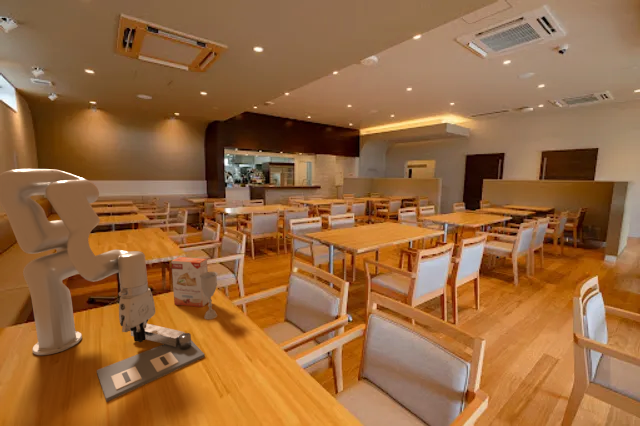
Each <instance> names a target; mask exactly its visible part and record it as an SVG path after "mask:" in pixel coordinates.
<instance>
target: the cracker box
mask: <svg viewBox="0 0 640 426" xmlns="http://www.w3.org/2000/svg"><path fill="white" fill-rule="evenodd" d="M205 272H209V271H208V259H207V258H197V257H183V256H179V257H176V258H174V259H172V260H171V273H172V274H171V275H172V287H173V289H172V290H173V302H174V305H175V306H176V305H177V306H188V307H199V308H203V307H205V306H206V305H207V304H209V302H208V300H209V298H208V297H206V295H205V294H204V292H203V290H202V288H201V278H200V277H199V276H200V275H201V274H203V273H205Z"/></svg>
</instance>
